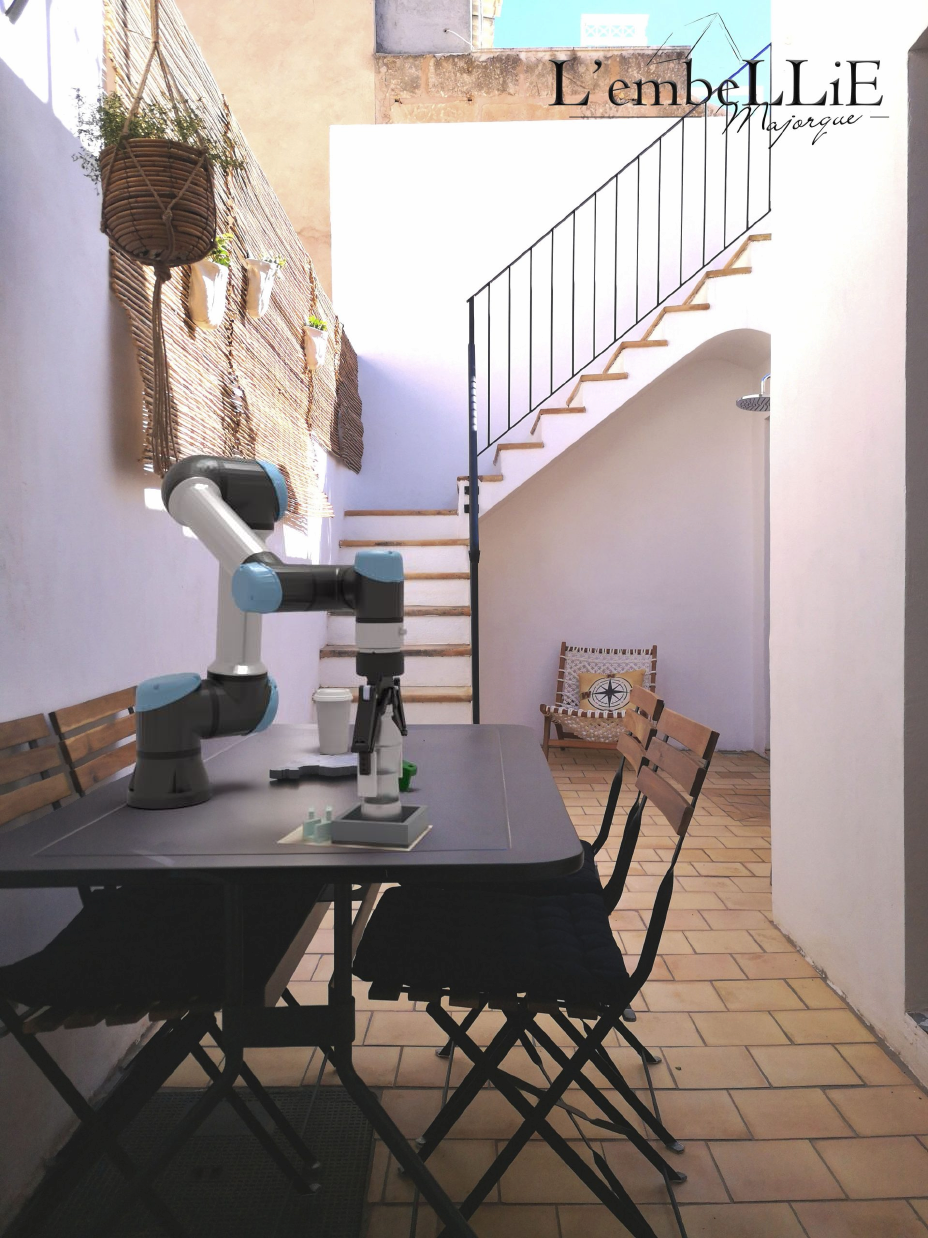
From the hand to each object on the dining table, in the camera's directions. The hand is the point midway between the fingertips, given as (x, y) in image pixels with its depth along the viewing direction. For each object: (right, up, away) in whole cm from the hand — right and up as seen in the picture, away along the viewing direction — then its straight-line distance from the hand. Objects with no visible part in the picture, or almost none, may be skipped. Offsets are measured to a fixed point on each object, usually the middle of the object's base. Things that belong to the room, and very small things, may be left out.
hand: (381, 786), depth 138 cm
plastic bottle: (0, -7, 0) cm, 7 cm away
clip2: (-10, -8, -2) cm, 12 cm away
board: (-4, -9, +1) cm, 10 cm away
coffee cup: (-19, -6, +76) cm, 79 cm away
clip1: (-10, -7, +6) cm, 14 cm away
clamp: (-2, -8, +33) cm, 34 cm away
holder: (0, -8, 0) cm, 8 cm away
